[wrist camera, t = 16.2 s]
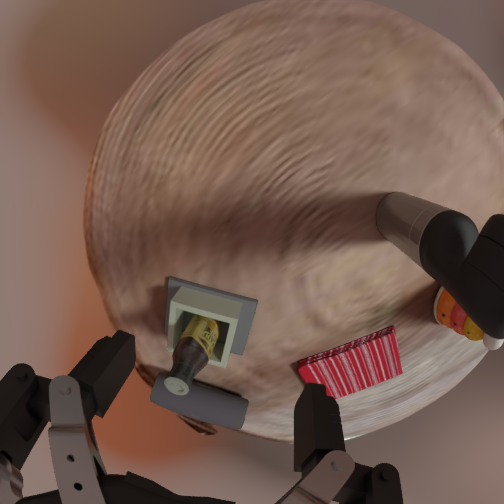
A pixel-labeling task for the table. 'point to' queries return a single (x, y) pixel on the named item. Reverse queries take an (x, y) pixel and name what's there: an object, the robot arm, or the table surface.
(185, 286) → the bottle jig
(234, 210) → the table surface
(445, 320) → the stacking toy
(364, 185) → the table surface
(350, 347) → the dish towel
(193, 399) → the bluetooth speaker
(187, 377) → the sauce bottle
